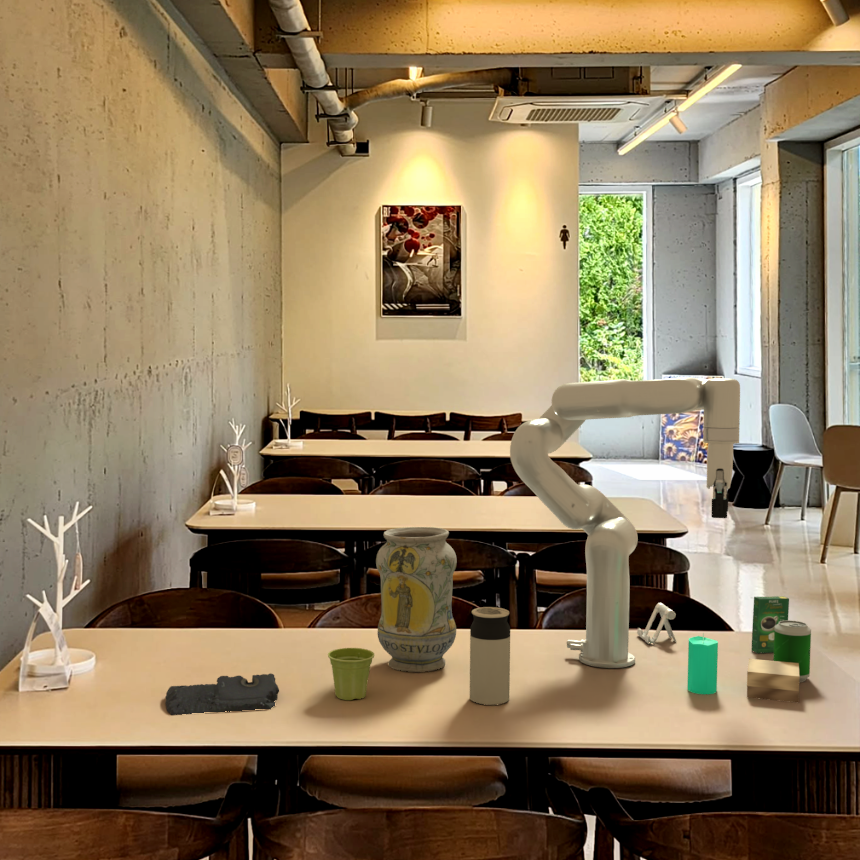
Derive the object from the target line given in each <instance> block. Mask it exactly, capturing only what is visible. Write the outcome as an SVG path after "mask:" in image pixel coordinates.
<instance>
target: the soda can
mask: <svg viewBox="0 0 860 860" xmlns="http://www.w3.org/2000/svg"><path fill="white" fill-rule="evenodd" d="M811 642H812V629H811V628H810V627H809V625H808V624H807V623H806V622H803V621H798V620H791V619H790V620H789V619H788V620H786V621H780V622H779V623H778V624H777V625H776V626H775V628H774V653H773V660H772V661H780V662H791V663H799V683H803V682H805V681H806V679H808V678H809V677H810V676H811V675H810V673H811V645H812V643H811Z"/></svg>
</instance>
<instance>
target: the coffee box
mask: <svg viewBox="0 0 860 860" xmlns="http://www.w3.org/2000/svg"><path fill="white" fill-rule="evenodd" d="M789 607H790V598H789V597H786V596H785V595H784V596H782V595H781V596H780V595H779V596H778V595H776V596H775V595H774V596H754V597H753V610H752V611H753V612H752V627H751V628H752V633H751V650H750V651H751V652H752V651H754V652H756V653H755V654H772V653H773V654H774V628H775V626H776V625H777V624H778V623H779V622H780V621H786V620H789V610H790V608H789ZM754 652H753V653H754Z"/></svg>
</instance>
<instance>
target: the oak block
mask: <svg viewBox="0 0 860 860" xmlns="http://www.w3.org/2000/svg"><path fill="white" fill-rule="evenodd" d="M746 675H747V677H746V687H747V686H752V687H762V688H772V689H782V690H792V691H799V692H800V682H799V663H791V662H780V661H773V660H767V659H758V658H757V659H756V658H748V663H747V673H746Z"/></svg>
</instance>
